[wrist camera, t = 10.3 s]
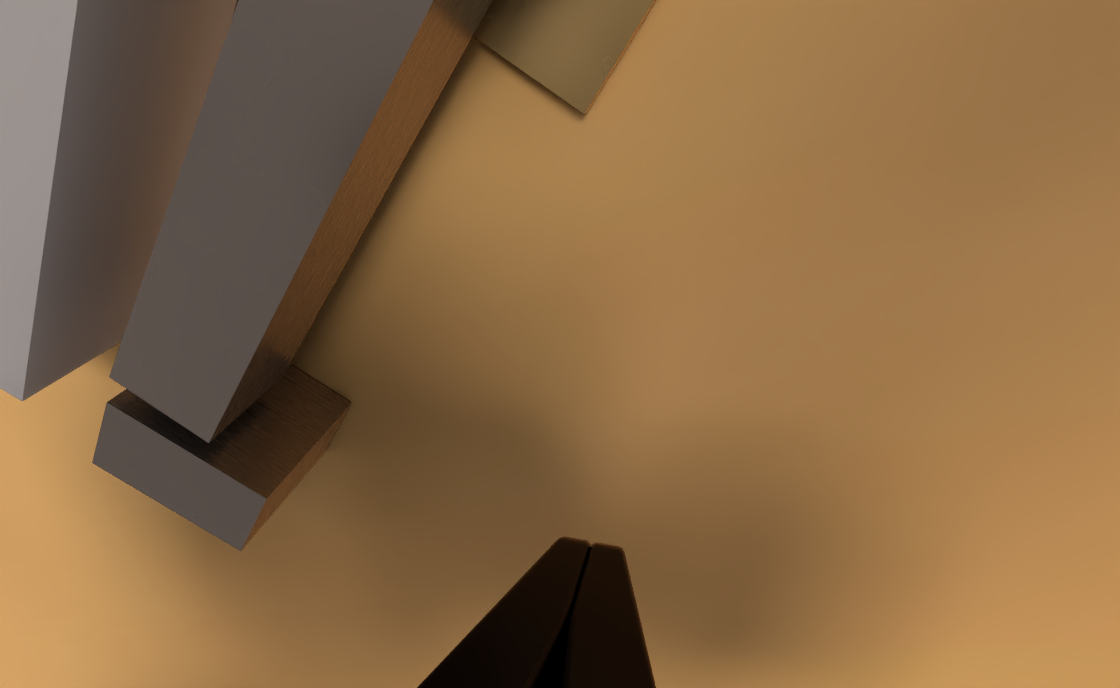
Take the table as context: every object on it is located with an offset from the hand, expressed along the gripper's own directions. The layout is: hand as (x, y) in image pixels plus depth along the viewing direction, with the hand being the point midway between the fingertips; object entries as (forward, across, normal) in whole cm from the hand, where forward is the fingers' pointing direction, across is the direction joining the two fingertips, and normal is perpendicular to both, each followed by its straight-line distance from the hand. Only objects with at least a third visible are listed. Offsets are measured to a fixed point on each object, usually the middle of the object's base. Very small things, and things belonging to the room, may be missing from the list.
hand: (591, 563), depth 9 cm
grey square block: (+6, +9, +2) cm, 11 cm away
